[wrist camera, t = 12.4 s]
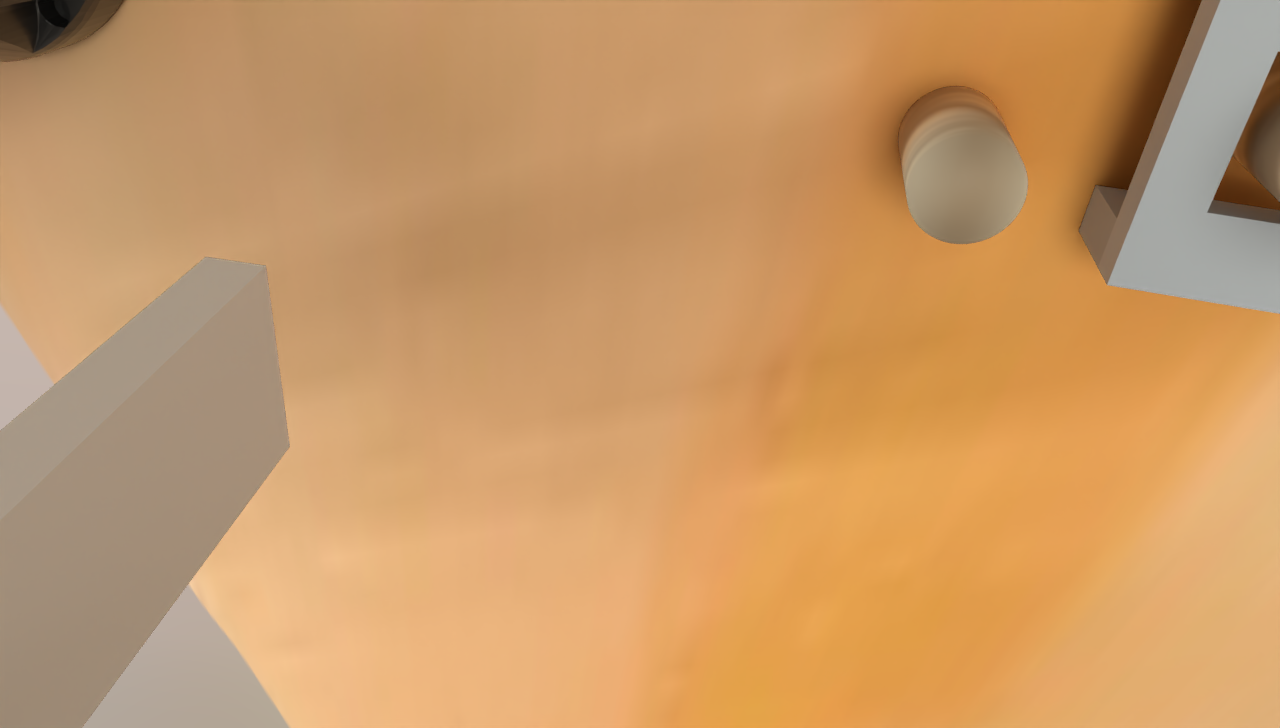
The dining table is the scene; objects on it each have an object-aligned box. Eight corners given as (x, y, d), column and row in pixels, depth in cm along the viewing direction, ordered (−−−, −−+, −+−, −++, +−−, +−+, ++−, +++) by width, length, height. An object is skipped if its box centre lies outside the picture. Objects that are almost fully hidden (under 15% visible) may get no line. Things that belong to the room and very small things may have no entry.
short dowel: (887, 176, 40) (894, 233, 35) (911, 78, 38) (922, 125, 33) (986, 192, 40) (1007, 252, 35) (1016, 94, 38) (1043, 144, 33)
